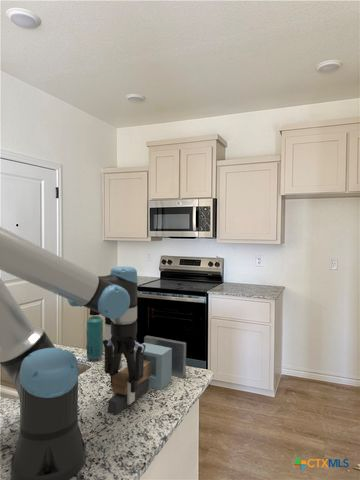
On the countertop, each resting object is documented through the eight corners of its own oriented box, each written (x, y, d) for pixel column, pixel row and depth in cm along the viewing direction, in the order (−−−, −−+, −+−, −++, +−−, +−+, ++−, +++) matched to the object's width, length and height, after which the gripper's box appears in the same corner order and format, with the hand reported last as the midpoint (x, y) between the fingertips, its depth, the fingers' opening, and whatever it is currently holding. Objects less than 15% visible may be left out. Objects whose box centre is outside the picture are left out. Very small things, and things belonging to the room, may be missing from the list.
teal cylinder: (105, 356, 134) (105, 307, 133) (99, 363, 127) (100, 311, 126) (89, 355, 134) (90, 306, 134) (83, 362, 128) (83, 310, 127)
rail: (116, 415, 92) (116, 402, 92) (108, 412, 93) (108, 400, 93) (148, 389, 107) (148, 378, 107) (141, 387, 108) (141, 376, 108)
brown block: (124, 395, 93) (125, 379, 93) (112, 391, 95) (112, 376, 95) (150, 375, 106) (151, 361, 106) (139, 372, 108) (139, 359, 108)
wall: (183, 378, 115) (183, 344, 114) (143, 369, 122) (144, 337, 122) (185, 376, 117) (186, 342, 116) (146, 367, 124) (147, 335, 123)
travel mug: (100, 367, 123) (100, 313, 123) (115, 362, 128) (116, 310, 127) (109, 372, 119) (109, 317, 118) (124, 367, 123) (125, 314, 122)
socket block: (161, 390, 106) (161, 355, 106) (132, 382, 111) (132, 349, 111) (171, 381, 112) (171, 348, 112) (143, 374, 117) (144, 342, 117)
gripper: (156, 321, 95) (156, 401, 96) (107, 313, 103) (107, 387, 104) (142, 328, 89) (142, 414, 90) (91, 319, 96) (91, 398, 97)
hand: (123, 400), depth 97 cm, fingers closed on brown block, 4 cm apart
